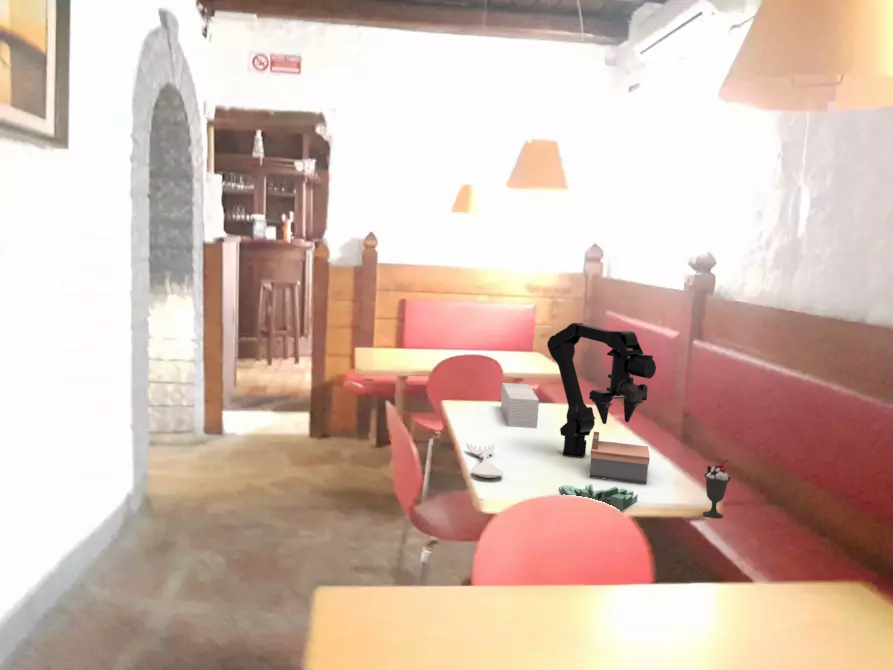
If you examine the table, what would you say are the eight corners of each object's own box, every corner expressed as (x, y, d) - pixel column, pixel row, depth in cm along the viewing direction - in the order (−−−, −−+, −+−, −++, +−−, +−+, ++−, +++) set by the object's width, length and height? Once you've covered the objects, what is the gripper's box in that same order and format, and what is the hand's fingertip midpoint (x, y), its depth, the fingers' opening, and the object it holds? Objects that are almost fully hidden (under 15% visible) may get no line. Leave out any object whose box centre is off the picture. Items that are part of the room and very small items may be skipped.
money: (569, 511, 196) (571, 492, 195) (558, 490, 212) (559, 473, 211) (648, 515, 197) (649, 496, 196) (630, 494, 213) (632, 477, 212)
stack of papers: (500, 408, 316) (502, 382, 314) (526, 410, 316) (528, 384, 315) (507, 427, 284) (509, 398, 283) (536, 429, 284) (539, 399, 283)
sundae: (729, 521, 195) (735, 462, 193) (701, 517, 196) (707, 459, 194) (725, 512, 201) (731, 456, 199) (698, 509, 202) (703, 453, 201)
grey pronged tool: (493, 453, 246) (494, 442, 246) (505, 484, 214) (505, 471, 214) (465, 451, 246) (466, 440, 245) (472, 482, 214) (473, 470, 214)
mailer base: (589, 476, 226) (591, 453, 225) (590, 466, 237) (592, 443, 236) (646, 484, 222) (648, 460, 221) (645, 472, 234) (647, 450, 233)
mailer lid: (590, 457, 224) (591, 440, 223) (592, 446, 238) (593, 429, 237) (648, 464, 221) (650, 446, 220) (647, 452, 234) (649, 436, 234)
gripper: (616, 378, 224) (611, 431, 226) (662, 376, 233) (657, 427, 235) (590, 371, 233) (585, 422, 235) (636, 369, 243) (630, 418, 245)
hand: (615, 423), depth 237 cm, fingers open, 9 cm apart
